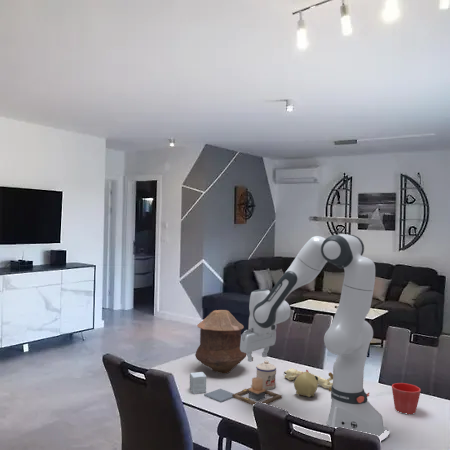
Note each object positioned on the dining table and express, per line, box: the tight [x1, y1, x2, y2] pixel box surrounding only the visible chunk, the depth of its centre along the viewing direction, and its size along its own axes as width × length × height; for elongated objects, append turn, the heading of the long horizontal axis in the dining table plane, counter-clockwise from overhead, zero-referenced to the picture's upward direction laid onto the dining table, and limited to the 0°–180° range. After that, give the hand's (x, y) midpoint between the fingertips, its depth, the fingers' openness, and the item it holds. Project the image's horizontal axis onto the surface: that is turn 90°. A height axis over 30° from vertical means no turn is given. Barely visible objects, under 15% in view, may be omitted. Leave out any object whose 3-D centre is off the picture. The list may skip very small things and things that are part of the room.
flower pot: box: [391, 382, 421, 415], centre depth 191 cm, size 11×11×10 cm
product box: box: [189, 371, 207, 395], centre depth 206 cm, size 6×6×7 cm
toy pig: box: [293, 371, 319, 398], centre depth 204 cm, size 10×12×11 cm
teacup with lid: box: [255, 360, 277, 390], centre depth 215 cm, size 12×9×12 cm
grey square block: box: [248, 391, 266, 402], centre depth 200 cm, size 5×5×3 cm
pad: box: [203, 388, 234, 403], centre depth 201 cm, size 10×10×1 cm
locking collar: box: [232, 386, 283, 406], centre depth 200 cm, size 15×15×2 cm
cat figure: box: [282, 367, 333, 392], centre depth 219 cm, size 10×9×25 cm
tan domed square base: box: [249, 376, 266, 394], centre depth 200 cm, size 6×5×5 cm
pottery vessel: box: [194, 309, 247, 374], centre depth 234 cm, size 26×26×30 cm
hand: (257, 359), depth 200 cm, fingers open, 8 cm apart
